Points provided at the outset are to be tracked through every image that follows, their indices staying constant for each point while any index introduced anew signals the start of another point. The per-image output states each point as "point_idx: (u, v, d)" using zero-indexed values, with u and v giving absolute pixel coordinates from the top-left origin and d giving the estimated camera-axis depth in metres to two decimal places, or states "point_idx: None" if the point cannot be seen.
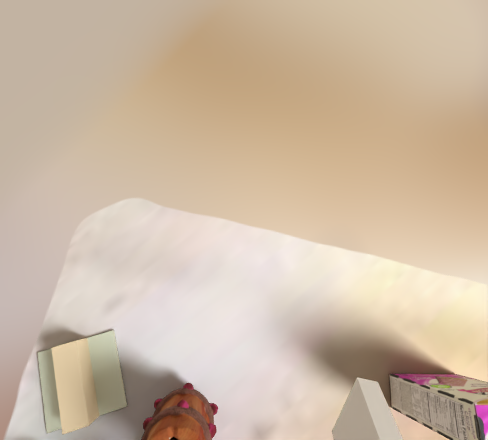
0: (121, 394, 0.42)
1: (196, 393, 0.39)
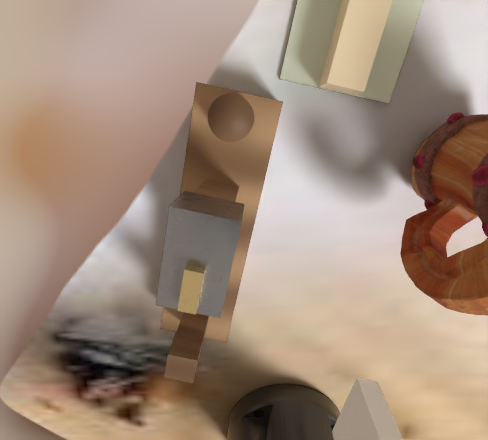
0: (391, 82, 0.27)
1: None
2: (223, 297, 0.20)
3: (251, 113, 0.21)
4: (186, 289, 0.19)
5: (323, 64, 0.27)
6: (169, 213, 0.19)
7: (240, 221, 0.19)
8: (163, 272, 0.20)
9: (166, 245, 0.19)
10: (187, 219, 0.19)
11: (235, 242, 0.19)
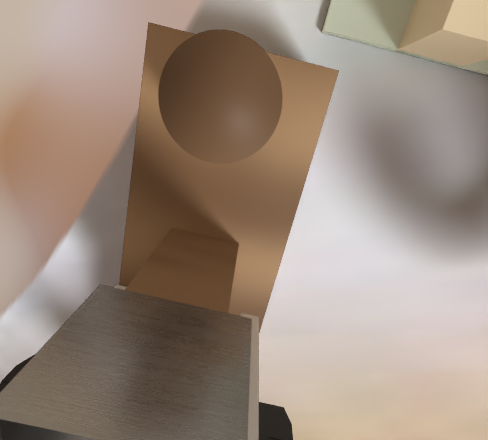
0: None
1: None
2: None
3: (276, 89, 0.08)
4: None
5: (412, 2, 0.13)
6: None
7: None
8: None
9: None
10: None
11: None
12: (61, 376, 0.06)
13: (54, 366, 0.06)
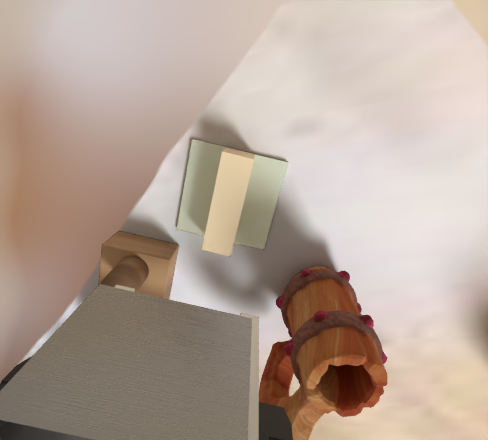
0: (264, 235, 0.34)
1: (352, 288, 0.32)
2: None
3: (132, 287, 0.28)
4: None
5: None
6: None
7: None
8: None
9: None
10: None
11: None
12: (60, 376, 0.06)
13: (53, 366, 0.06)
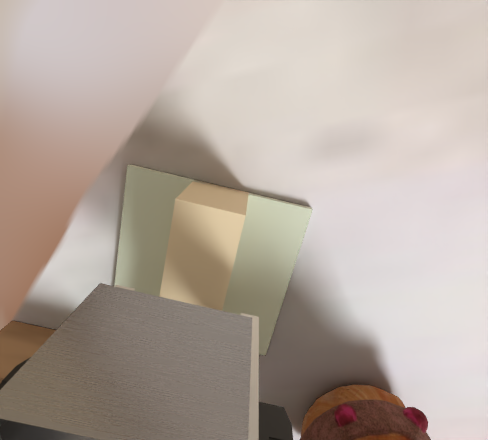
0: (266, 334, 0.19)
1: None
2: None
3: None
4: None
5: None
6: None
7: None
8: None
9: None
10: None
11: None
12: (60, 375, 0.06)
13: (53, 365, 0.06)
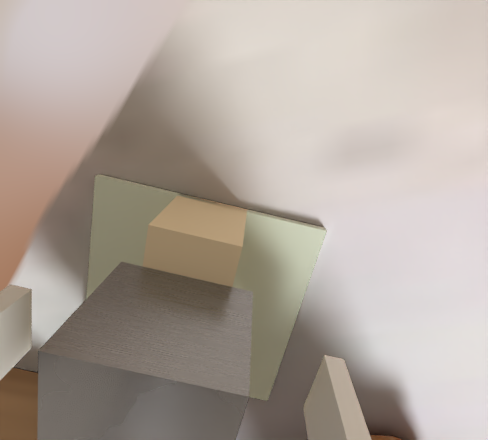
0: (268, 376, 0.16)
1: None
2: None
3: None
4: None
5: None
6: (41, 368, 0.06)
7: (245, 394, 0.06)
8: None
9: None
10: (94, 384, 0.07)
11: None
12: (97, 327, 0.07)
13: (91, 320, 0.07)
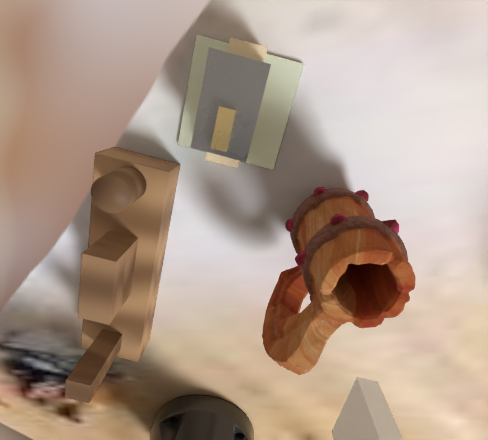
0: (274, 153, 0.31)
1: (370, 209, 0.29)
2: (250, 140, 0.23)
3: (126, 192, 0.25)
4: (219, 126, 0.22)
5: None
6: (208, 54, 0.21)
7: (269, 64, 0.21)
8: (199, 114, 0.23)
9: (204, 87, 0.22)
10: (223, 60, 0.21)
11: (264, 85, 0.22)
12: None
13: None
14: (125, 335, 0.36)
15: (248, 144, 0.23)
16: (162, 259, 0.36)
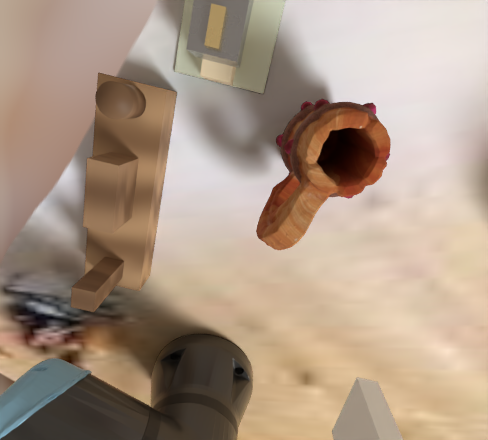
0: (263, 77, 0.34)
1: None
2: (240, 40, 0.26)
3: (128, 97, 0.28)
4: (212, 23, 0.25)
5: None
6: None
7: None
8: (194, 15, 0.25)
9: None
10: None
11: None
12: None
13: None
14: (127, 262, 0.38)
15: (238, 43, 0.26)
16: (161, 189, 0.38)
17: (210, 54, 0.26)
